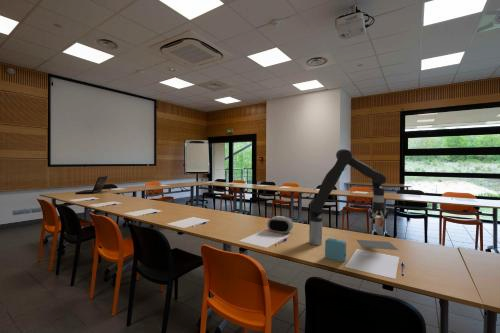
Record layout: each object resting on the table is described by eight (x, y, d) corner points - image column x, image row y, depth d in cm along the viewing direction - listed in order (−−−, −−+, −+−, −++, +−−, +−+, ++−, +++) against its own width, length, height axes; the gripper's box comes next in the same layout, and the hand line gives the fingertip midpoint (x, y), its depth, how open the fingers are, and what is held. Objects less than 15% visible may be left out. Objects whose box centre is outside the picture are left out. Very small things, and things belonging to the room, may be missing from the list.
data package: (346, 260, 155) (346, 241, 155) (344, 262, 151) (344, 243, 151) (327, 255, 162) (327, 237, 162) (324, 257, 159) (325, 239, 158)
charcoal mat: (362, 248, 176) (362, 247, 176) (355, 240, 194) (356, 239, 194) (398, 250, 172) (398, 250, 172) (389, 242, 190) (389, 241, 190)
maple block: (371, 221, 190) (377, 226, 176) (371, 215, 190) (377, 219, 176) (378, 222, 189) (384, 226, 175) (378, 215, 189) (385, 219, 175)
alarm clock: (267, 232, 214) (267, 216, 214) (270, 229, 223) (270, 214, 223) (290, 235, 206) (290, 219, 206) (292, 232, 215) (293, 216, 215)
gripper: (369, 201, 180) (369, 224, 180) (390, 202, 177) (390, 226, 178) (366, 200, 187) (366, 222, 188) (387, 200, 185) (386, 223, 185)
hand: (377, 224), depth 183 cm, fingers closed on maple block, 5 cm apart
